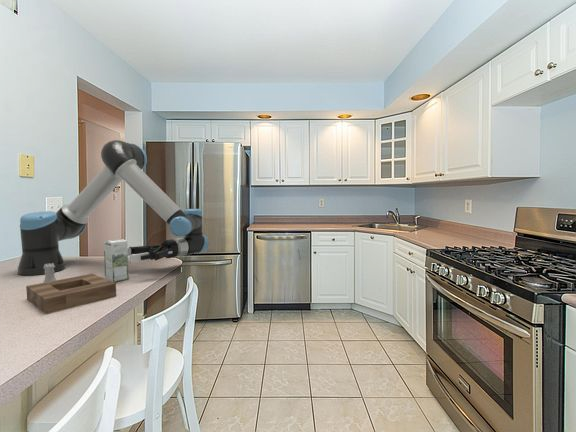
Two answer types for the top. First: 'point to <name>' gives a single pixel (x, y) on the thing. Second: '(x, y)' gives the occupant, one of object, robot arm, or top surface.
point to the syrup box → (116, 260)
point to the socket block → (70, 292)
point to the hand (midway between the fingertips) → (121, 256)
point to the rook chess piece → (49, 272)
